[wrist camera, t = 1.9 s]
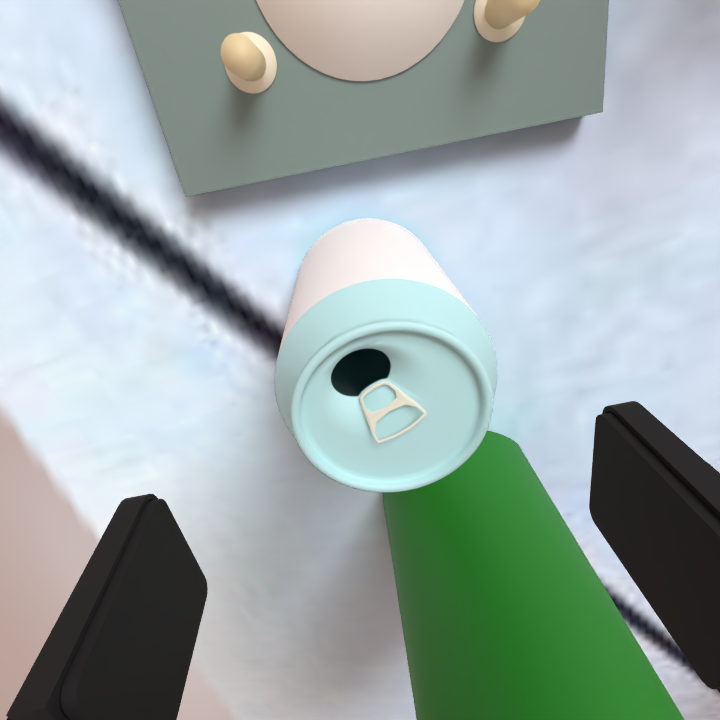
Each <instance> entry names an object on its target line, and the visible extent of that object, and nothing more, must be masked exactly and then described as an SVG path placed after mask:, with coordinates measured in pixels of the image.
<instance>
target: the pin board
mask: <svg viewBox="0 0 720 720" xmlns="http://www.w3.org/2000/svg"><path fill="white" fill-rule="evenodd" d="M118 1H119V4H120V7H121V10H122V13H123V16H124V19H125V22H126V25H127V28H128V31H129V33H130V36H131V39H132V42H133V45H134V48H135V51H136V54H137V57H138V60H139V63H140V66H141V68H142V71H143V74H144V77H145V80H146V83H147V86H148V89H149V92H150V95H151V98H152V101H153V103H154V106H155V109H156V112H157V115H158V118H159V121H160V124H161V127H162V130H163V133H164V136H165V138H166V141H167V144H168V147H169V150H170V153H171V156H172V159H173V162H174V165H175V168H176V171H177V173H178V176H179V179H180V182H181V185H182V188H183V191H184V194H185V197H188V196H193V195H198V194H203V193H207V192H212V191H217V190H222V189H227V188H232V187H237V186H242V185H247V184H252V183H257V182H262V181H266V180H271V179H276V178H281V177H286V176H291V175H296V174H301V173H306V172H311V171H316V170H320V169H325V168H330V167H335V166H340V165H345V164H350V163H355V162H360V161H365V160H370V159H375V158H379V157H384V156H389V155H394V154H399V153H404V152H409V151H414V150H419V149H424V148H429V147H433V146H438V145H443V144H448V143H453V142H458V141H463V140H468V139H473V138H478V137H483V136H488V135H492V134H497V133H502V132H507V131H512V130H517V129H522V128H527V127H532V126H537V125H542V124H546V123H551V122H556V121H561V120H566V119H571V118H576V117H581V116H586V115H591V114H596V113H601V112H603V95H604V77H605V59H606V41H607V23H608V5H609V0H118Z"/></svg>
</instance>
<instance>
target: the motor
mask: <svg viewBox="0 0 720 720" xmlns="http://www.w3.org/2000/svg"><path fill="white" fill-rule="evenodd" d="M383 502H384V509H385V516H386V522H387V529H388V535H389V542H390V548H391V555H392V561H393V568H394V574H395V581H396V587H397V594H398V600H399V607H400V613H401V620H402V626H403V633H404V640H405V646H406V653H407V659H408V666H409V672H410V679H411V685H412V692H413V698H414V705H415V711H416V718H417V720H684V718H683V717H682V715H681V713H680V712H679V710H678V708H677V707H676V705H675V703H674V702H673V700H672V698H671V697H670V695H669V693H668V692H667V690H666V689H665V687H664V685H663V684H662V682H661V680H660V679H659V677H658V675H657V674H656V672H655V670H654V669H653V667H652V665H651V664H650V662H649V660H648V659H647V657H646V655H645V654H644V652H643V650H642V649H641V647H640V645H639V644H638V642H637V641H636V639H635V637H634V636H633V634H632V632H631V631H630V629H629V627H628V626H627V624H626V622H625V621H624V619H623V617H622V616H621V614H620V612H619V611H618V609H617V607H616V606H615V604H614V602H613V601H612V599H611V597H610V596H609V594H608V593H607V591H606V589H605V588H604V586H603V584H602V583H601V581H600V579H599V578H598V576H597V574H596V573H595V571H594V569H593V568H592V566H591V564H590V563H589V561H588V559H587V558H586V556H585V554H584V553H583V551H582V550H581V548H580V546H579V545H578V543H577V541H576V540H575V538H574V536H573V535H572V533H571V531H570V530H569V528H568V526H567V525H566V523H565V521H564V520H563V518H562V516H561V515H560V513H559V511H558V510H557V508H556V506H555V505H554V503H553V502H552V500H551V498H550V497H549V495H548V493H547V492H546V490H545V488H544V487H543V485H542V483H541V482H540V480H539V478H538V477H537V475H536V473H535V472H534V470H533V468H532V467H531V465H530V463H529V462H528V460H527V458H526V457H525V455H524V454H523V452H522V450H521V449H520V447H519V445H518V444H517V443H516V442H514V441H513V440H511V439H509V438H507V437H505V436H503V435H501V434H498V433H494V432H490V431H487V432H486V434H485V436H484V438H483V440H482V442H481V443H480V445H479V446H478V448H477V449H476V450H475V452H474V453H473V454H472V455H471V456H470V457H469V458H468V459H467V460H466V461H465V462H464V463H463V464H462V465H461V466H460V467H459V468H457V469H456V470H454V471H453V472H452V473H450V474H449V475H447V476H445V477H444V478H442V479H440V480H438V481H436V482H433V483H431V484H428V485H426V486H423V487H420V488H416V489H412V490H407V491H401V492H383Z"/></svg>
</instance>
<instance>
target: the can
mask: <svg viewBox="0 0 720 720" xmlns="http://www.w3.org/2000/svg"><path fill="white" fill-rule="evenodd" d="M274 383H275V394H276V400H277V403H278V407H279V410H280V413H281V415H282V417H283V420H284V422H285V423H286V425H287V427H288V429H289V430H290V432H291V433H292V434H293V436H294V437H295V439H296V441H297V443H298V445H299V447H300V449H301V451H302V452H303V454H304V455H305V456H306V458H307V459H308V460H309V461H310V462H311V463H312V464H313V465H314V466H315V467H316V468H317V469H318V470H319V471H321V472H322V473H323V474H324V475H326V476H328V477H329V478H331V479H333V480H335V481H337V482H339V483H341V484H343V485H346V486H348V487H352V488H355V489H359V490H364V491H370V492H401V491H407V490H412V489H416V488H420V487H423V486H426V485H428V484H431V483H433V482H436V481H438V480H440V479H442V478H444V477H445V476H447V475H449V474H450V473H452V472H453V471H454V470H456V469H457V468H459V467H460V466H461V465H462V464H463V463H464V462H465V461H466V460H467V459H468V458H469V457H470V456H471V455H472V454H473V453H474V452H475V450H476V449H477V448H478V446H479V445H480V443H481V442H482V440H483V438H484V436H485V434H486V432H487V430H488V427H489V424H490V421H491V416H492V410H493V397H494V394H495V389H496V383H497V362H496V355H495V351H494V347H493V344H492V341H491V339H490V336H489V334H488V332H487V330H486V328H485V326H484V325H483V323H482V322H481V321H480V319H479V318H478V316H477V315H476V314H475V312H474V311H473V310H472V309H471V307H470V306H469V305H468V303H467V302H466V301H465V299H464V298H463V297H462V295H461V294H460V293H459V291H458V290H457V289H456V287H455V286H454V285H453V283H452V282H451V281H450V279H449V278H448V277H447V275H446V274H445V273H444V271H443V270H442V269H441V267H440V266H439V265H438V264H437V262H436V261H435V260H434V258H433V257H432V256H431V254H430V253H429V252H428V250H427V249H426V248H425V246H424V245H423V244H422V243H421V241H420V240H419V239H418V238H417V237H416V236H414V235H413V234H412V233H411V232H409V231H408V230H406V229H405V228H403V227H401V226H399V225H397V224H395V223H392V222H389V221H385V220H380V219H357V220H352V221H348V222H345V223H342V224H340V225H337V226H335V227H334V228H332V229H330V230H329V231H327V232H325V233H324V234H323V235H322V236H321V237H319V238H318V239H317V240H316V241H315V242H314V244H313V245H312V246H311V247H310V249H309V250H308V252H307V253H306V255H305V257H304V259H303V261H302V263H301V266H300V269H299V273H298V277H297V281H296V285H295V289H294V293H293V297H292V301H291V305H290V309H289V313H288V317H287V321H286V326H285V330H284V334H283V338H282V342H281V346H280V350H279V354H278V358H277V362H276V368H275V379H274Z"/></svg>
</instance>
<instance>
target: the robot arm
mask: <svg viewBox="0 0 720 720" xmlns="http://www.w3.org/2000/svg"><path fill="white" fill-rule="evenodd" d="M589 507H590V513H591V516H592V519H593V521H594V523H595V524H596V526H597V527H598V529H599V530H600V532H601V533H602V535H603V536H604V538H605V539H606V541H607V542H608V544H609V545H610V547H611V548H612V549H613V551H614V552H615V554H616V555H617V557H618V558H619V560H620V561H621V563H622V564H623V566H624V567H625V569H626V570H627V571H628V573H629V574H630V576H631V577H632V579H633V580H634V582H635V583H636V585H637V586H638V588H639V589H640V591H641V592H642V594H643V595H644V596H645V598H646V599H647V601H648V602H649V604H650V605H651V607H652V608H653V610H654V611H655V613H656V614H657V616H658V617H659V618H660V620H661V621H662V623H663V624H664V626H665V627H666V629H667V630H668V632H669V633H670V635H671V636H672V638H673V639H674V640H675V642H676V643H677V645H678V646H679V648H680V649H681V651H682V652H683V654H684V655H685V657H686V658H687V660H688V661H689V663H690V664H691V665H692V667H693V668H694V670H695V671H696V673H697V674H698V676H699V677H700V678H701V680H702V681H703V682H704V683H705V684H706V685H707V686H708V687H709V688H711V689H718V691H719V692H720V473H719V472H718V471H717V470H715V469H714V468H713V467H712V466H711V465H710V464H708V463H707V462H706V461H704V460H703V459H702V458H701V457H700V456H699V455H697V454H696V453H695V452H694V451H693V450H692V449H691V448H690V447H688V446H687V445H686V444H685V443H684V442H683V441H682V440H680V439H679V438H678V437H677V436H676V435H675V434H674V433H673V432H671V431H670V430H669V429H668V428H667V427H666V426H665V425H663V424H662V423H661V422H660V421H659V420H658V419H657V418H656V417H654V416H653V415H652V414H651V413H650V412H649V411H648V410H646V409H645V408H644V407H643V406H642V405H641V404H639V403H638V402H635V401H631V402H626V403H621V404H616V405H610V406H607V407H605V408H604V410H603V413H602V414H601V415H598V416H597V417H596V422H595V436H594V450H593V463H592V477H591V490H590V504H589ZM206 597H207V582H206V578H205V576H204V574H203V572H202V570H201V569H200V567H199V565H198V563H197V561H196V559H195V557H194V555H193V553H192V551H191V549H190V547H189V545H188V544H187V542H186V540H185V538H184V536H183V534H182V532H181V530H180V528H179V526H178V524H177V522H176V521H175V519H174V517H173V515H172V513H171V511H170V509H169V507H168V505H167V503H166V502H165V500H163V499H158V498H157V497H156V496H155V495H154V494H147V495H142V496H137V497H132V498H126V499H124V500H122V502H121V503H120V504H119V506H118V508H117V510H116V512H115V514H114V515H113V517H112V519H111V521H110V523H109V525H108V527H107V528H106V530H105V532H104V534H103V536H102V538H101V540H100V542H99V543H98V545H97V547H96V549H95V551H94V553H93V555H92V556H91V558H90V560H89V562H88V564H87V566H86V568H85V570H84V571H83V574H82V575H81V577H80V579H79V581H78V583H77V585H76V586H75V588H74V590H73V592H72V594H71V596H70V598H69V600H68V601H67V603H66V605H65V607H64V609H63V611H62V612H61V614H60V616H59V618H58V620H57V622H56V624H55V626H54V627H53V629H52V631H51V633H50V635H49V637H48V639H47V640H46V642H45V644H44V646H43V648H42V650H41V652H40V654H39V656H38V657H37V659H36V661H35V663H34V665H33V667H32V668H31V670H30V672H29V674H28V676H27V678H26V680H25V681H24V683H23V685H22V687H21V689H20V691H19V693H18V695H17V697H16V698H15V700H14V702H13V704H12V706H11V708H10V709H9V711H8V713H7V716H8V718H7V720H176V719H177V715H178V711H179V707H180V703H181V699H182V694H183V691H184V687H185V682H186V678H187V674H188V670H189V666H190V662H191V658H192V654H193V650H194V646H195V642H196V638H197V634H198V630H199V626H200V622H201V618H202V614H203V610H204V606H205V601H206Z"/></svg>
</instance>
